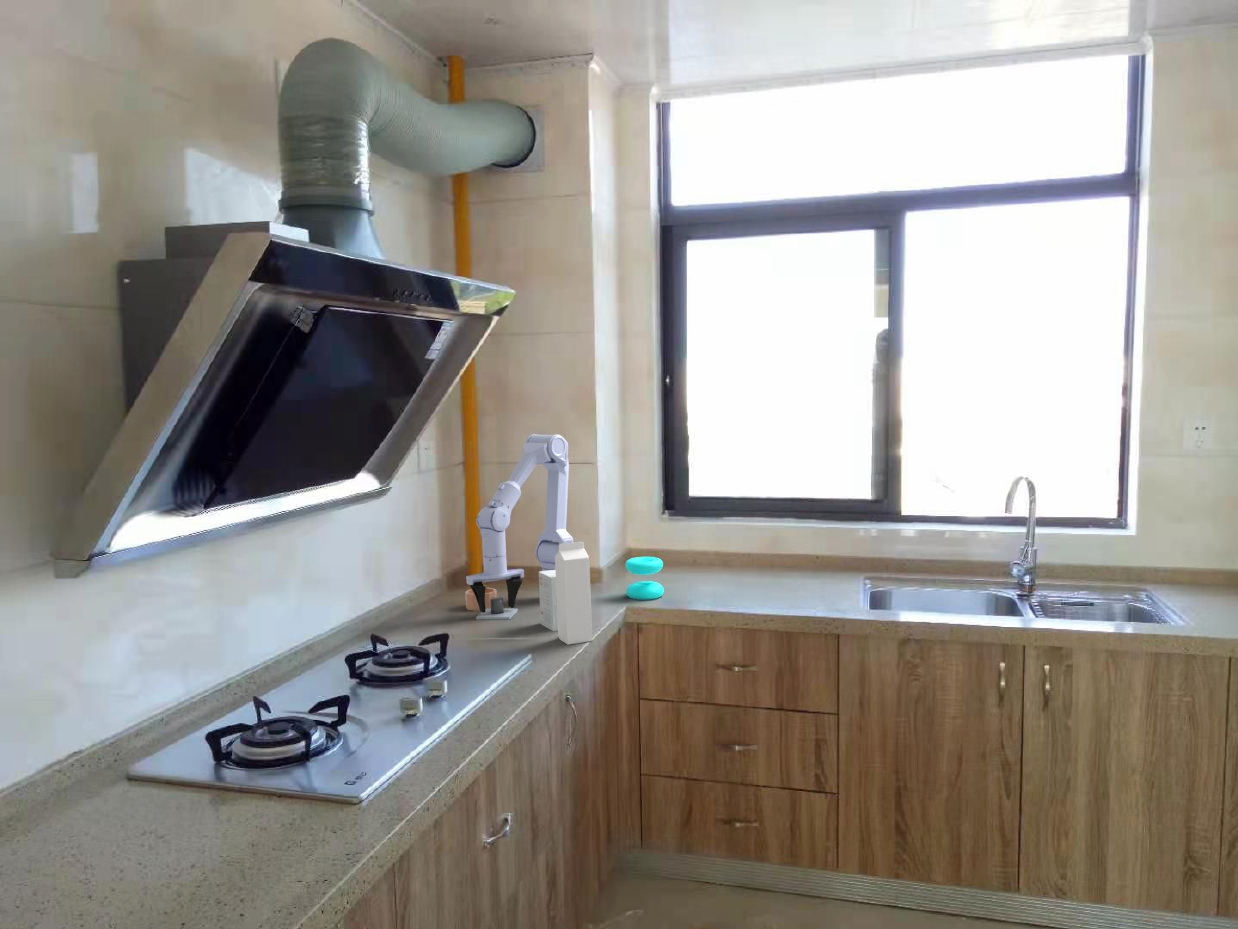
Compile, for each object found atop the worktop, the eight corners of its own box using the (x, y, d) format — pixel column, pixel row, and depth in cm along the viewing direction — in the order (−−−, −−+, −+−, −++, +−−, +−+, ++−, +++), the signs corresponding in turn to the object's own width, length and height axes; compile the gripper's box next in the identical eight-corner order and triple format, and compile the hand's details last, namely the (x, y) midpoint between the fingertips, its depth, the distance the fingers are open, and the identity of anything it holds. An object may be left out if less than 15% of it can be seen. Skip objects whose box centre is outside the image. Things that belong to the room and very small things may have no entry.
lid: (518, 610, 239) (517, 594, 239) (509, 619, 231) (508, 602, 230) (485, 610, 240) (484, 594, 240) (476, 619, 232) (475, 602, 232)
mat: (519, 612, 239) (519, 610, 239) (510, 621, 230) (510, 619, 230) (485, 612, 241) (484, 610, 241) (474, 621, 232) (474, 619, 232)
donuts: (624, 563, 246) (625, 556, 256) (625, 601, 247) (626, 592, 257) (663, 562, 246) (662, 555, 256) (664, 600, 247) (663, 591, 257)
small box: (577, 628, 221) (575, 573, 220) (552, 632, 219) (550, 577, 217) (564, 621, 229) (562, 568, 228) (539, 625, 226) (537, 571, 225)
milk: (592, 641, 210) (589, 543, 208) (566, 645, 208) (563, 546, 206) (582, 634, 216) (579, 539, 214) (557, 638, 214) (554, 541, 211)
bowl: (500, 604, 248) (499, 587, 248) (492, 612, 240) (491, 594, 240) (471, 604, 249) (470, 587, 249) (462, 612, 242) (461, 594, 241)
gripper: (515, 549, 241) (517, 602, 242) (461, 556, 234) (463, 610, 235) (526, 553, 235) (528, 607, 236) (471, 560, 228) (473, 616, 229)
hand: (497, 609), depth 235 cm, fingers open, 7 cm apart
